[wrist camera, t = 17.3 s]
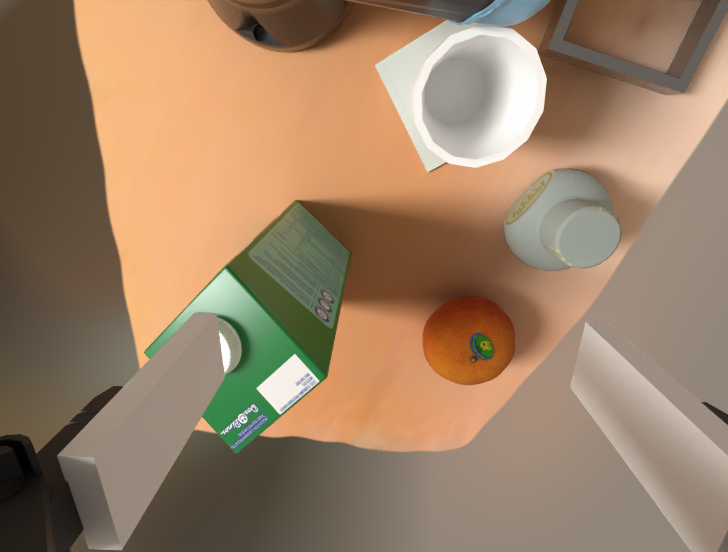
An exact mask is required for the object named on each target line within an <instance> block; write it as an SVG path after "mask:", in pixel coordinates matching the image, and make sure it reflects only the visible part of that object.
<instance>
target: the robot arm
mask: <svg viewBox="0 0 728 552" xmlns="http://www.w3.org/2000/svg"><path fill="white" fill-rule="evenodd" d="M550 1H551V0H208V2H209V3H210V5H211V7H212V8H213V9H214V11H215V12H216V13H217V15H218V16H219V17H220V18H221V20H222V21H223V22H224V23H225V24H226V25H227V26H228V27H229V28H231V29H232V30H233V31H234V32H235V33H237V34H238V35H240V36H241V37H243V38H244V39H246V40H247V41H249V42H251V43H252V44H254V45H257V46H259V47H261V48H264V49H267V50H271V51H277V52H294V51H300V50H304V49H307V48H310V47H312V46H314V45H316V44H318V43H320V42H321V41H323V40H324V39H326V38H327V37H328V36H329V35H331V34H332V33H333V32H334V31H335V30H336V29H337V28H338V26H339V25H340V24H341V23H342V21H343V20H344V18H345V17H346V15H347V13H348V12H349V10H350V8H351V6H352V3H353V2H356V3H361V4H367V5H372V6H378V7H383V8H388V9H394V10H399V11H405V12H410V13H416V14H421V15H427V16H432V17H438V18H443V19H448V20H449V21H450V22H451V23H453V24H457V25H462V24H465V25H468V24H471V23H478V24H486V25H494V26H502V27H505V26H510V25H515V24H518V23H520V22H523V21H526V20H528V19H529V18H531V17H532V16H534V15H535V14H536V13H538V12H539V11H540V10H541V9H542V8H544V7H545V6H546V5H547V4H548V3H549V2H550ZM224 378H225V373H224V365H223V358H222V350H221V343H220V335H219V328H218V320H217V313H211V312H195V313H194V314H193V315H192V316H191V317H190V318H189V319H188V320H187V321H186V322H185V323H184V324H183V326H182V327H181V328H180V329H179V330H178V331H177V332H176V333H175V334H174V335H173V336H172V337H171V338H170V339H169V340H168V341H167V342H166V343H165V344H164V345H163V346H162V347H161V348H160V349H159V350H158V351H157V353H156V354H155V355H154V356H153V357H152V358H151V359H150V360H149V361H148V362H147V363H146V364H145V365H144V366H143V367H142V368H141V369H140V370H139V371H138V372H137V373H136V374H135V375H134V376H133V377H132V379H131V380H130V381H129V382H128V383H127V384H126V385H125V386H124V387H123V386H113V387H111V388H110V389H108V390H106V391H105V392H103V393H101V394H100V395H98V396H97V397H95V398H94V399H93V400H92V401H91V402H90V403H88V404H87V405H86V406H85V407H84V409H82V410H81V413H80V414H77V415H76V416H75V417H74V418H73V419H72V420H71V421H70V423H69V425H66V426H65V427H64V428H63V429H62V430H61V431H60V432H59V433H58V434H56V435H55V436H54V437H53V438H52V439H51V441H49V442H48V443H47V444H46V445H45V446H44V447H43V448H42V449H41V450H40V451H39V452H38V453H37V454H36V453H35V450H34V447H33V445H32V442H31V441H30V439H29V437H27V436H23V435H21V434H17V435H5V436H1V437H0V552H72V551H71V549H70V548H71V546H72V545H73V543H74V542H75V541H76V539H77V538H78V536H79V535H80V534H81V532H82V531H83V533H84V537H85V539H86V542H87V545H88V548H89V549H106V550H122V548H123V547H124V545H125V544H126V542H127V540H128V539H129V537H130V535H131V534H132V532H133V530H134V529H135V527H136V525H137V524H138V522H139V520H140V518H141V517H142V515H143V514H144V512H145V510H146V509H147V507H148V505H149V504H150V501H151V500H152V499H153V497H154V495H155V493H156V492H157V490H158V489H159V487H160V485H161V484H162V482H163V480H164V478H165V477H166V475H167V473H168V472H169V470H170V468H171V467H172V465H173V463H174V462H175V460H176V458H177V457H178V455H179V453H180V452H181V450H182V448H183V447H184V445H185V443H186V442H187V440H188V438H189V437H190V435H191V433H192V432H193V430H194V428H195V427H196V425H197V423H198V422H199V420H200V418H201V417H202V415H203V413H204V412H205V410H206V408H207V407H208V405H209V403H210V402H211V400H212V398H213V397H214V395H215V393H216V392H217V390H218V388H219V387H220V385H221V383H222V382H223V380H224ZM571 389H572V390H573V391H574V393H575V394H576V396H577V397H578V398H579V400H580V401H581V402H582V404H583V405H584V406H585V408H586V409H587V410H588V412H589V413H590V414H591V416H592V417H593V419H594V420H595V421H596V423H597V424H598V425H599V427H600V428H601V430H602V431H603V432H604V434H605V435H606V436H607V438H608V439H609V440H610V442H611V443H612V444H613V446H614V447H615V449H616V450H617V451H618V453H619V454H620V455H621V457H622V458H623V459H624V461H625V462H626V463H627V465H628V466H629V468H630V469H631V470H632V472H633V473H634V474H635V476H636V477H637V478H638V480H639V481H640V483H641V484H642V485H643V487H644V488H645V489H646V491H647V492H648V493H649V494H650V496H651V497H652V499H653V500H654V502H655V503H656V504H657V506H658V507H659V508H660V510H661V511H662V512H663V514H664V515H665V516H666V518H667V519H668V520H669V522H670V523H671V525H672V526H673V527H674V529H675V530H676V531H677V533H678V534H679V536H680V537H681V538H682V539H683V541H684V542H685V544H686V545H687V546H688V548H689V549H690V550H691V552H728V414H726V413H724V412H723V411H721V410H719V409H717V408H715V407H714V406H712V405H710V404H708V403H707V402H700V401H699V400H698V399H697V398H695V397H694V396H693V395H692V394H691V393H690V392H688V391H687V390H686V389H685V388H684V387H683V386H681V385H680V384H679V383H678V382H677V381H676V380H674V379H673V378H672V377H671V376H670V375H669V374H667V373H666V372H665V371H664V370H663V369H662V368H660V367H659V366H658V365H657V364H656V363H655V362H653V361H652V360H651V359H650V358H648V356H646V355H645V354H644V353H643V352H642V351H641V350H639V349H638V348H637V347H636V346H635V345H634V344H632V343H631V342H630V341H629V340H628V339H627V338H625V337H624V336H623V335H622V334H621V333H620V332H619V331H617V330H616V329H615V328H614V327H613V326H611V325H610V324H609V323H608V322H586V323H585V328H584V332H583V336H582V340H581V344H580V349H579V353H578V357H577V361H576V365H575V370H574V374H573V378H572V382H571Z"/></svg>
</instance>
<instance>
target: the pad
mask: <svg viewBox="0 0 728 552" xmlns="http://www.w3.org/2000/svg"><path fill="white" fill-rule="evenodd" d="M477 25H480V24H478V23H471V24H468V25H465V24H462V25H457V24H453V23H451V22H450V21H449V20H448V19H447V20H446V21H444V22H442V23H441V24H439V25H438V26H436V27H434V28H433V29H431V30H430V31H428V32H427V33H425V34H423V35H422V36H420V37H419V38H417V39H415V40H414V41H412V42H411V43H409V44H407V45H406V46H404V47H403V48H401V49H400V50H398V51H396V52H395V53H393V54H392V55H390V56H388V57H387V58H385V59H384V60H382V61H380V62H379V63H377V64H376V65H375V67H376V69H377V71H378V73H379V75H380V77H381V79H382V81H383V83H384V85H385V87H386V89H387V91H388V93H389V95H390V97H391V99H392V101H393V103H394V105H395V107H396V110H397V112H398V114H399V116H400V118H401V120H402V122H403V124H404V126H405V128H406V130H407V132H408V134H409V136H410V138H411V140H412V142H413V144H414V146H415V148H416V150H417V152H418V154H419V156H420V158H421V160H422V162H423V164H424V167H425V169H426V171H427V172H429V171H431V170H433V169H435V168H436V167H438V166H440V165H442V164H444V163H446V161H445V160H443V159H442V158H441V157H439V156H438V155H436V154H435V153H434V152H432V151H431V150H430V149H428V148H427V146H426V144H425V142H424V140H423V138H422V136H421V134H420V133H419V131H418V129H417V127H416V125H415V123H414V120H413V106H412V88H413V86H414V83H415V81H416V78H417V76H418V73H419V71H420V68H421V65H422V63H423V61H424V60H425V58H426V57H427V56H428V55H429V54H430V53H431V52H432V51H433V50H434V49H435V48H436V47H437V46H438V45H439V44H440V43H441V42H442V41H443V40H444V39H445V38H446V37H448V36H450V35H453V34H456V33H458V32H461V31H464V30H466V29H469V28H472V27H475V26H477ZM485 25H486V24H485ZM492 26H494V25H492ZM498 27H499V26H498Z"/></svg>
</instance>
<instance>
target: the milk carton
mask: <svg viewBox="0 0 728 552" xmlns="http://www.w3.org/2000/svg"><path fill="white" fill-rule="evenodd" d="M350 258H351V252H350V251H348V250H347V249H346V248H345V247H344V246H343V245H342V244H341V243H340V242H339V241H338V240H337V239H336V238H335V237H334V236H333V235H332V234H331V233H330V232H329V231H328V230H327V229H326V228H325V227H324V226H323V225H322V224H321V223H319V222H318V221H317V220H316V219H315V218H314V217H313V216H312V215H311V214H310V213H309V212H308V211H307V210H306V209H305V208H304V207H303V206H302V205H301V204H300V203H299V202H298V201H297V200H295V201H294V202H293V203H292V204H291V205H290V206H288V207H287V208H286V209H285V210H284V211H283V212H282V213H281V214H280V215H279V216H278V217H277V218H276V219H275V220H273V221H272V222H271V223H270V224H269V225H268V226H267V227H266V228H265V229H264V230H263V231H262V232H261V233H260V234H259V235H257V236H256V237H255V238H254V239H253V240H252V241H251V242H250V243H249V244H248V245H247V246H246V247H245V248H244V249H242V250H241V251H240V252H239V253H238V254H237V255H236V256H235V257H234V258H233V259H232V260H231V261H230V262H229V263H228V264H226V265H225V266H224V267H223V268H222V269H221V271H220V272H219V273H218V274H217V275H216V276H215V277H214V278H213V279H212V280H211V281H210V282H209V283H208V284H207V285H206V287H205V288H204V289H203V290H202V291H201V292H200V293H199V294H198V295H197V296H196V297H195V298H194V299H193V300H192V301H191V302H190V304H189V305H188V306H187V307H186V308H185V309H184V310H183V311H182V312H181V313H180V314H179V315H178V316H177V317H176V318H175V319H174V321H173V322H172V323H171V324H170V325H169V326H168V327H167V328H166V329H165V330H164V331H163V332H162V333H161V334H160V335H159V336H158V338H157V339H156V340H155V341H154V342H153V343H152V344H151V345H150V346H149V347H148V348H147V349H146V350H145V352H144V353H145V354H146V355H147V357H148V358H149V359H151V358H152V357H153V356H154V355H155V354H156V353H157V351H158V350H159V349H160V348H161V347H162V346H163V345H164V344H165V343H166V342H167V341H168V340H169V339H170V338H171V337H172V336H173V335H174V334H175V333H176V332H177V331H178V330H179V329H180V328H181V327H182V326H183V324H184V323H185V322H186V321H187V320H188V319H189V318H190V317H191V316H192V315H193V314H194V313H195V312H211V313H217V320H218V328H219V335H220V343H221V350H222V358H223V365H224V373H225V378H224V380H223V382H222V383H221V385H220V387H219V388H218V390H217V392H216V393H215V395H214V397H213V398H212V400H211V402H210V403H209V405H208V407H207V408H206V410H205V412H204V413H203V415H202V417H203V418H204V419H205V420H206V421H207V423H208V424H209V425H210V426H211V427H212V428H213V429H214V430H215V431H216V432H217V434H218V435H219V436H220V437H221V438H222V439H223V440H224V441H225V442H226V443H227V444H228V446H229V447H230V448H231V449H232V450H233V451H234V452H235V453H236V454H237V453H238V452H239V451H241V450H242V449H243V448H244V447H245V446H246V445H248V444H249V443H250V442H251V441H252V440H253V439H255V438H256V437H257V436H258V435H259V434H261V433H262V432H263V431H264V430H265V429H267V428H268V427H269V426H270V425H271V424H273V423H274V422H275V421H276V420H277V419H278V418H280V417H281V416H282V415H283V414H284V413H286V412H287V411H288V410H289V409H290V408H291V407H293V406H294V405H295V404H296V403H297V402H299V401H300V400H301V399H302V398H303V397H305V396H306V395H307V394H308V393H309V392H310V391H312V390H313V389H314V388H315V387H316V386H318V385H319V384H320V383H321V382H322V381H323V380H325V379H326V378H327V376H328V371H329V366H330V360H331V355H332V350H333V345H334V340H335V335H336V330H337V325H338V320H339V314H340V309H341V304H342V299H343V294H344V289H345V284H346V279H347V273H348V268H349V263H350Z"/></svg>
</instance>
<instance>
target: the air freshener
mask: <svg viewBox="0 0 728 552" xmlns="http://www.w3.org/2000/svg"><path fill="white" fill-rule="evenodd" d="M504 234H505V239H506V241H507V244H508V246H509V248H510V250H511V251H512V253H513V254H514V255H515V256H516V257H517V258H518V259H519V260H520V261H522V262H523V263H525V264H526V265H528V266H530V267H533V268H536V269H539V270H546V271H558V270H564V269H568V268H570V267H574V268H576V267H579V268H580V269H582V268H590V267H594V266H596V265H599V264H601V263H602V262H604V261H605V260H607V259H608V258H609V257H610V256H611V255H612V254H613V253H614V251H615V250H616V248H617V246H618V244H619V241H620V238H621V227H620V222H619V220H618V218H616V217H615V216H614V214H613V209H612V203H611V199H610V196H609V194H608V192H607V190H606V189H605V188H604V186H603V185H602V184H601V183H600V182H599V181H598V180H597V179H596V178H595V177H593V176H591V175H589V174H587V173H586V172H582V171H579V170H575V169H555V170H550V171H548V172H546V173H544V174H543V175H542V176H540V177H539V178H538V179H537V180H535V181H534V182H533V183H532V184H531V185H530V186H529V187H528V188H527V189H526V190H525V191H524V192H523V194H522V195H521V196H520V197H519V198H518V199H517V201H516V202H515V203H514V205H513V206H512V207H511V209H510V210H509V212H508V214H507V216H506V218H505V220H504Z"/></svg>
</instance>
